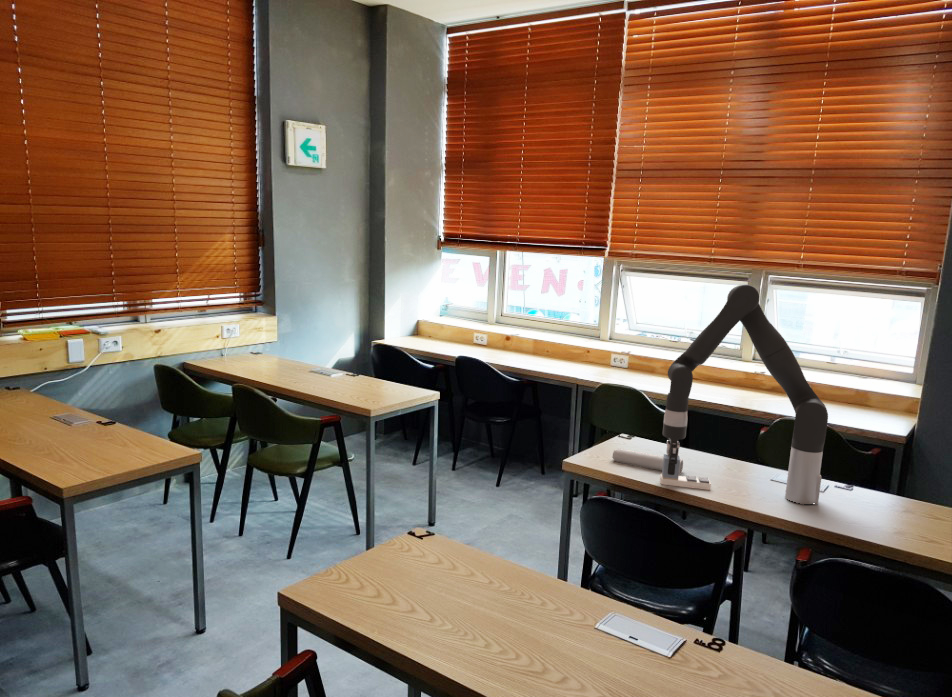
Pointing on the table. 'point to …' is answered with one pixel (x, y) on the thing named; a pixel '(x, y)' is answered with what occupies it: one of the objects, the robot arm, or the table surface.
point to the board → (685, 483)
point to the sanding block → (665, 468)
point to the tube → (641, 459)
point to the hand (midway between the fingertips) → (670, 471)
